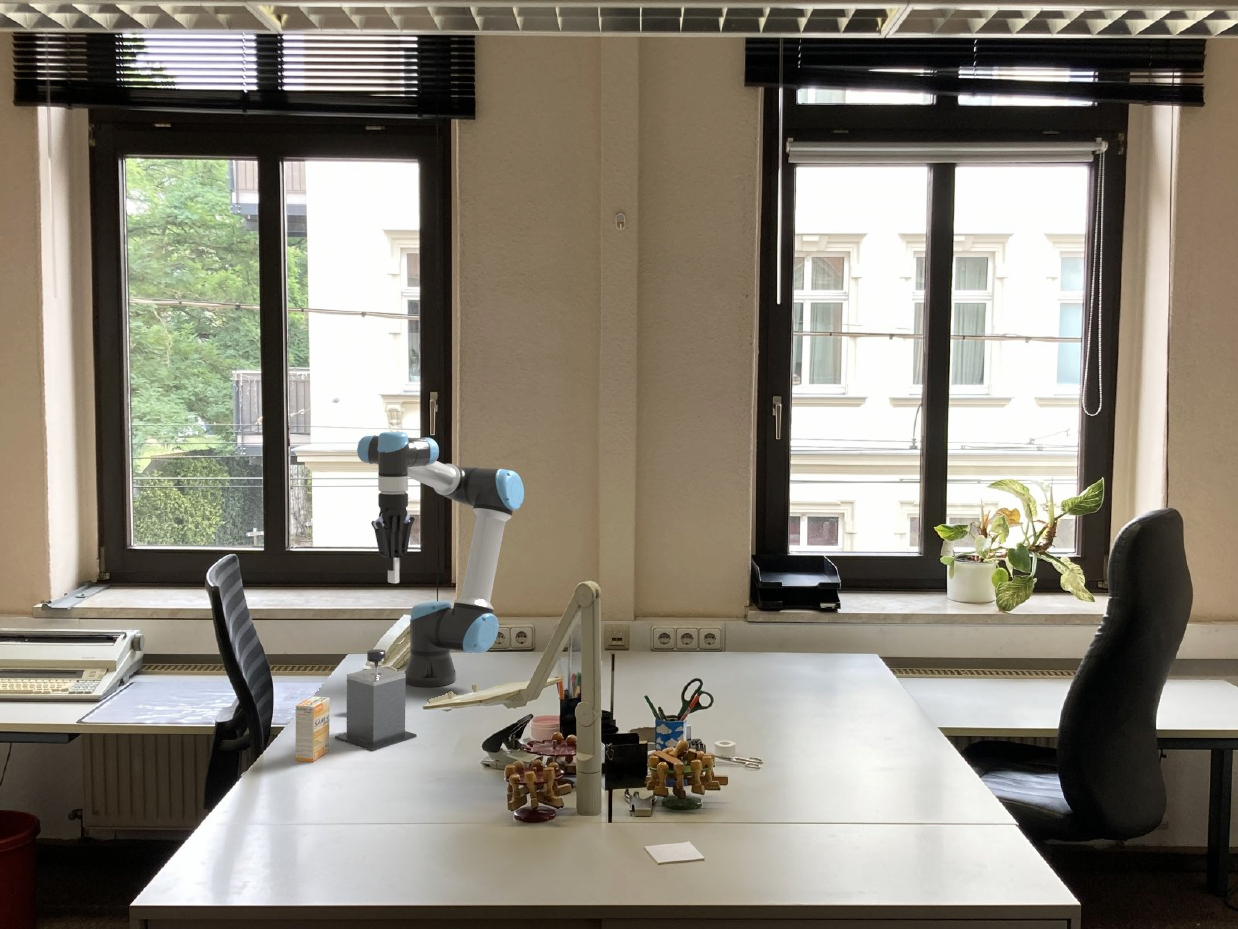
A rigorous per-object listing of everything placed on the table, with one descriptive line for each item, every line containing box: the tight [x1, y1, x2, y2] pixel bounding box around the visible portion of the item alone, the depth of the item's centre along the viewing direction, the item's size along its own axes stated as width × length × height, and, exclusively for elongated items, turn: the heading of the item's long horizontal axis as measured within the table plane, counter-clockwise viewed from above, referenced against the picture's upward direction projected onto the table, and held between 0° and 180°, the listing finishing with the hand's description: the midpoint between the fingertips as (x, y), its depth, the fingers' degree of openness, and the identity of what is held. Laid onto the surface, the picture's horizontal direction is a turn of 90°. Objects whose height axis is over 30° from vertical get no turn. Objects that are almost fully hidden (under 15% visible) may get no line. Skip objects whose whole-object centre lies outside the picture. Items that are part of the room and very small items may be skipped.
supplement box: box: [294, 696, 331, 763], centre depth 251 cm, size 8×5×13 cm, turn 168°
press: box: [334, 666, 417, 752], centre depth 265 cm, size 14×15×16 cm
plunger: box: [366, 649, 387, 675], centre depth 264 cm, size 7×7×15 cm
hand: (393, 582), depth 279 cm, fingers closed
